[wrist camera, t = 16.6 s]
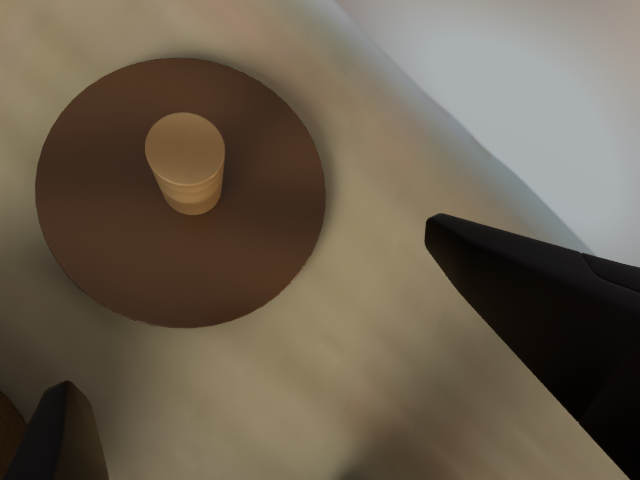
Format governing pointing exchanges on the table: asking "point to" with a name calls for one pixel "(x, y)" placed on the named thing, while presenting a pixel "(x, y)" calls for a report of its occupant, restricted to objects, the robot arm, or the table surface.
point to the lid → (180, 193)
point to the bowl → (9, 432)
